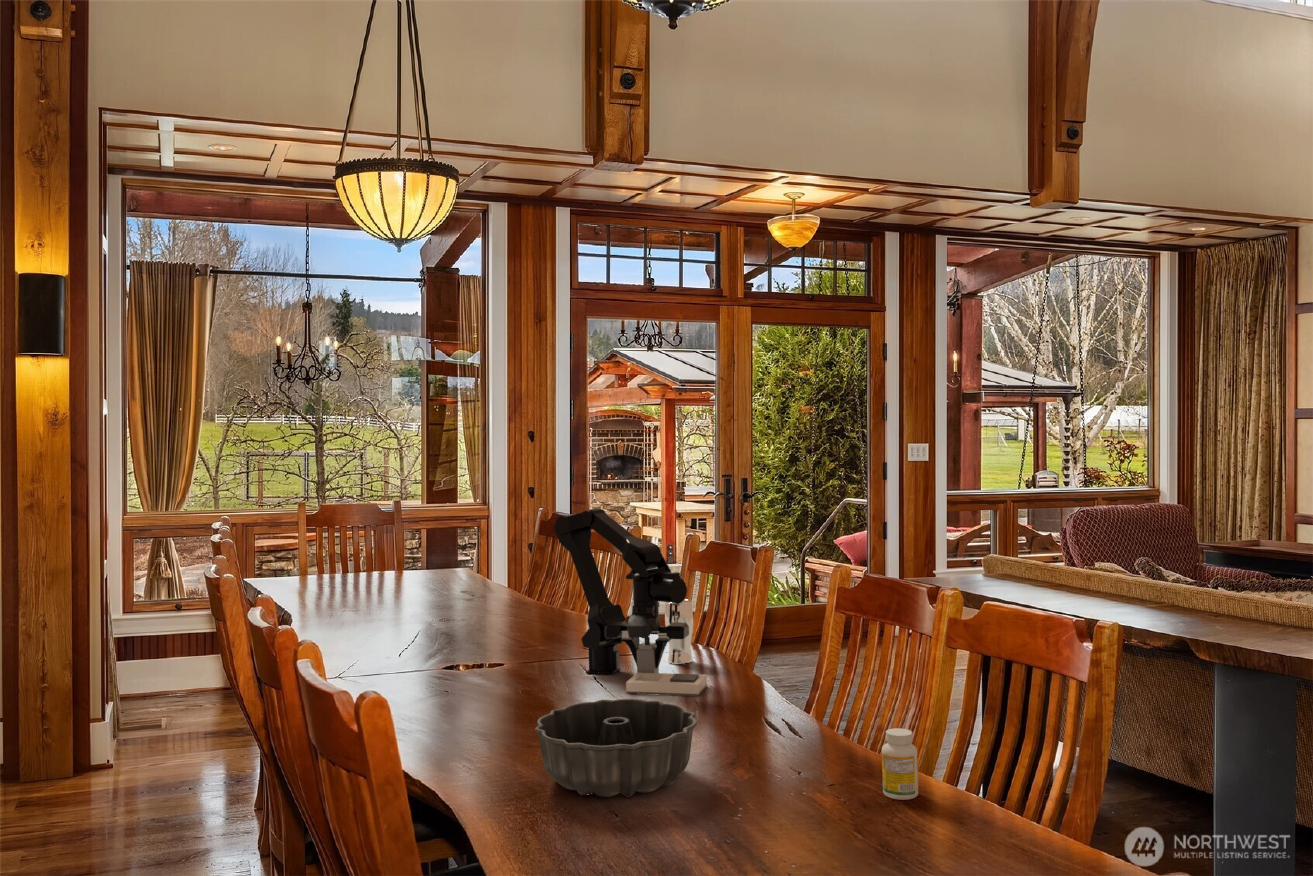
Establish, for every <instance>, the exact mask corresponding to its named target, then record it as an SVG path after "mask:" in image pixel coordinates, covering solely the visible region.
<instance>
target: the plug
mask: <svg viewBox="0 0 1313 876" xmlns="http://www.w3.org/2000/svg"><path fill="white" fill-rule="evenodd" d="M650 638H651V637H650V636H649V637H648V638H643V640H644V642H641V643H640V645H639V648H638V649H637V665H636V668H637V669H636V673H660V670H659V667H660V666H659V667H658V668H656V665H655V658H656V643H655V642H651V639H650Z"/></svg>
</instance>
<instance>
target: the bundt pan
mask: <svg viewBox="0 0 1313 876" xmlns="http://www.w3.org/2000/svg"><path fill="white" fill-rule="evenodd" d="M536 724H537V726H536V727H535V728H534V731H535V733H536V734H537V736H538V741H539V746H540V753H541V756H542V762H543V767H544V769H545V771H546V773H547V775H549V777H550V778H551V779H553V780H554V781H555V782H557V783H558V785H560V786H561V787H562V788H565V789H567V790H570V791H576V790H577V791H576V792H577V793H578V794H580V795H581V796H583V795H587V794H591V793H593V794H596V795H597V796H599V797H601V798H610V796H611V797H614V796H616V795H618V794H621V795H623V796H625V797H626V796H628V797H627V798H631V797H632V796H633V795H634V794H635V793H636V792H639V793H641V794H642V793H643V794H647V793H652V792H654V791H656V790H657V789H659V787H660V788H666V787H669V786H671V785H672V784H674V783H675V782H676V781H677V779H678V777H679V776H680V775H681V774H683V772H684V771H685V770H686V768H687V767H688V764H689V761H690V758H691V748H692V741H693V733H694V729H695V728H696V727H697V719H696V713H695V712H692V711H688V710H687V709H686V708H685V706H682V705H679V704H676V703H675V704H674V703H667V702H663V701H661V700H656V699H655V700H646V699H641V698H620V699H599V700H595V701H585V702H577V703H573V704H569V705H566V706H565V707H562V708H556V709H552V710H551V711H550V713H548V714H545V715H542V716H541V717H539V718H538V719H537V722H536ZM591 795H592V794H591Z"/></svg>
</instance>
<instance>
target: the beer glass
mask: <svg viewBox="0 0 1313 876" xmlns="http://www.w3.org/2000/svg"><path fill="white" fill-rule="evenodd" d="M664 603H665V604H664V625H665V626H668V625H669V624H671V623H672V622H675V623H687V624H688V626H689V635H688V636H687V637H686V638H684V639H671V640H670V641H669V642H668V648H669V649H668V659H667V662H669V663H668V664H670V663H672V664H671V665H675V664H683V665H686V664H685V663H689V662H692V661H693V660H694V659H693V655H692V649H691V647H692V636H693V630H694V609H693V601H692V599H686V598H685V599H684V600H683V601H682V602H681V603H679V604H676V603H668V602H664ZM693 662H694V661H693ZM693 662H692V663H693ZM689 664H690V663H689Z"/></svg>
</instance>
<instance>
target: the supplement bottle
mask: <svg viewBox="0 0 1313 876" xmlns="http://www.w3.org/2000/svg"><path fill="white" fill-rule="evenodd" d="M885 740H886V743H884V745H883V746H882V747H881V771H882V772H881V773H882V775H881V777H882V792H883V794H884V796H885V797H888V798H890V799H893V800H899V801H900V800H901V801H907V800H912V799H915V798H916V797H917V796H918V795H919V763H918V761H919V759H918V748H917V747H916V746H915V745H914V744H913V741H914V737H913V731H912V730H909V729H907V728H906V729H905V728H900V727H899V728H895V727H894V728H890V729H887V730H886V731H885Z"/></svg>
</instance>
